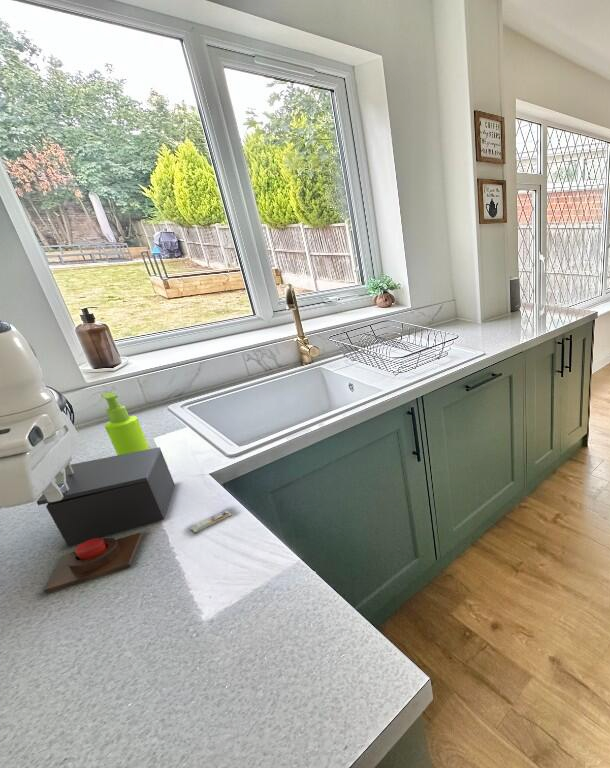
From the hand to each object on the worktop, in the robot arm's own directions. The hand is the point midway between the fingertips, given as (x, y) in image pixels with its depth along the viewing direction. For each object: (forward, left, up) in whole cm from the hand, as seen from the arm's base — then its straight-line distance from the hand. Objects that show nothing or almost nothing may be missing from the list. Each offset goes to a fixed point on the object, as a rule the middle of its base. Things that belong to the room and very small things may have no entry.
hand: (59, 496), depth 69 cm
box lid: (+1, +14, -5) cm, 15 cm away
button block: (+1, -1, -15) cm, 15 cm away
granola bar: (+18, +1, -15) cm, 23 cm away
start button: (+1, -1, -12) cm, 12 cm away
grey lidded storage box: (+2, +14, -15) cm, 21 cm away
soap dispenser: (0, +36, -15) cm, 39 cm away
